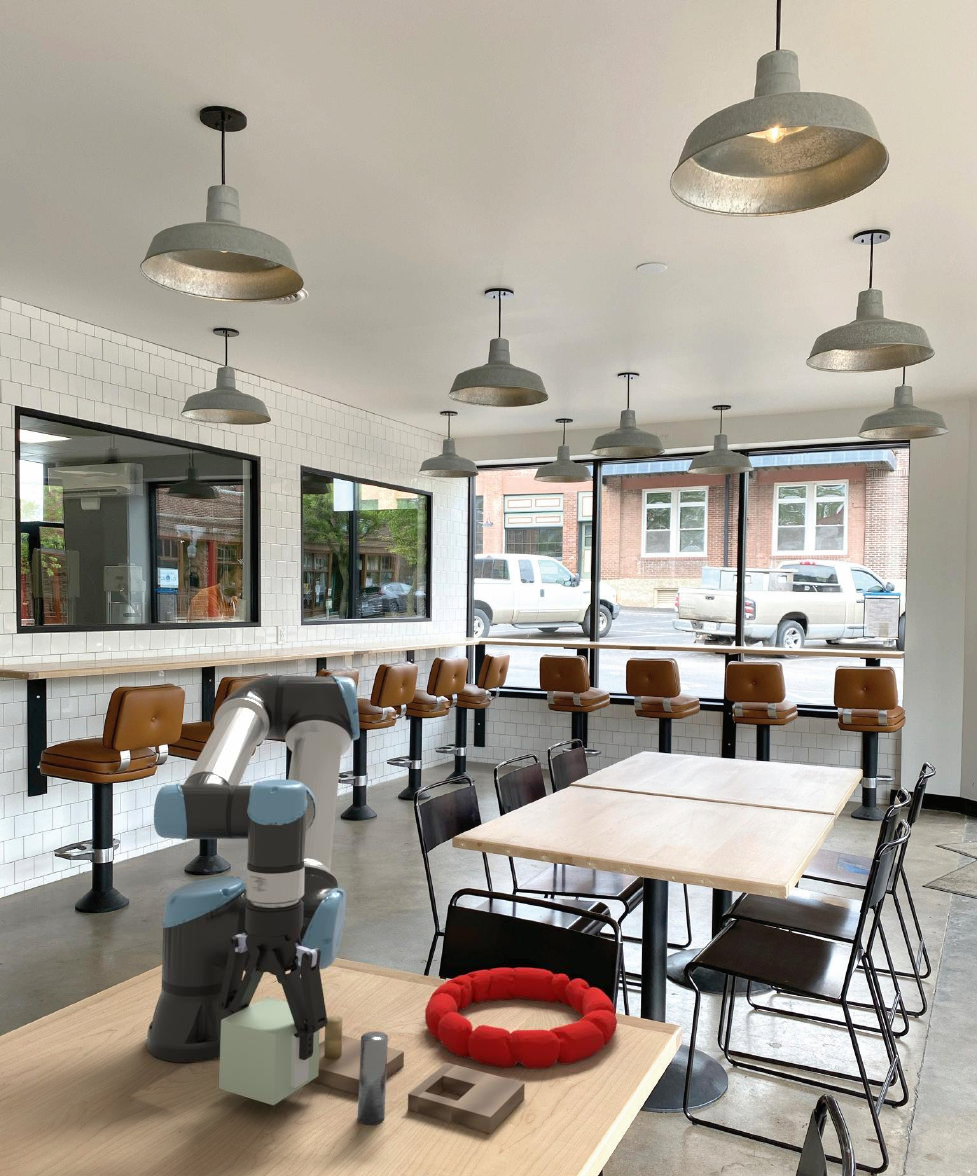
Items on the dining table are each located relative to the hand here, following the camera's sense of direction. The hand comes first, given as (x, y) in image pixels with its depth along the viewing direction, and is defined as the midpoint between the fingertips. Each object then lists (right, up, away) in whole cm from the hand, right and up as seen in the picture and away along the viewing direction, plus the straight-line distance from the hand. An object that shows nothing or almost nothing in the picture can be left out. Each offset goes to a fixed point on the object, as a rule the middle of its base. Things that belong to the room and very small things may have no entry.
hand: (269, 1074), depth 121 cm
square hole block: (+26, -4, 0) cm, 26 cm away
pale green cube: (0, -1, 0) cm, 1 cm away
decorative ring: (+34, -6, +24) cm, 42 cm away
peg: (+14, -4, -4) cm, 15 cm away
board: (+9, -4, +9) cm, 13 cm away
